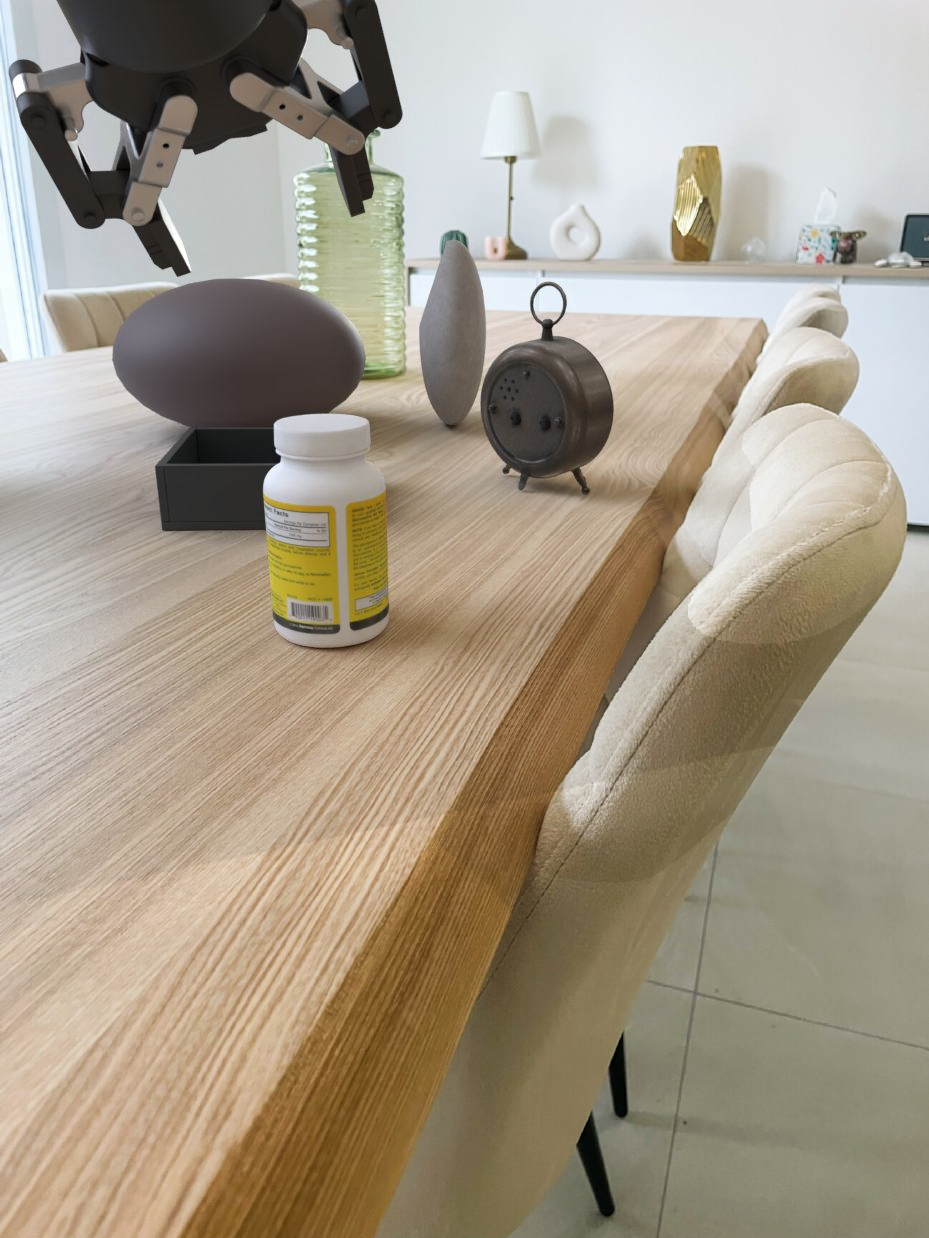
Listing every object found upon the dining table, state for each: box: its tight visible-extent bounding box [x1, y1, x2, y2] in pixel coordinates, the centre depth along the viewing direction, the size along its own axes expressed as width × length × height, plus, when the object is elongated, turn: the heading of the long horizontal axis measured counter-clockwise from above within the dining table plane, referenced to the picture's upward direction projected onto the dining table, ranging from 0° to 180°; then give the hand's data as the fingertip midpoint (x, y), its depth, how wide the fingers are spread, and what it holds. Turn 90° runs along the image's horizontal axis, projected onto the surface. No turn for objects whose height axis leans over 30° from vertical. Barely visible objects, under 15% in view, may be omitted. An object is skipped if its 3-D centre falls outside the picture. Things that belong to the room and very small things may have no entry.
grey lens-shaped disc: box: [418, 239, 487, 426], centre depth 99 cm, size 18×7×19 cm, turn 1°
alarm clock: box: [479, 281, 615, 495], centre depth 75 cm, size 11×5×16 cm, turn 48°
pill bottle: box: [263, 413, 390, 649], centre depth 48 cm, size 6×6×11 cm
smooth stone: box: [111, 277, 367, 428], centre depth 94 cm, size 25×25×15 cm
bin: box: [154, 427, 281, 531], centre depth 71 cm, size 13×13×5 cm
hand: (266, 231), depth 44 cm, fingers open, 8 cm apart
